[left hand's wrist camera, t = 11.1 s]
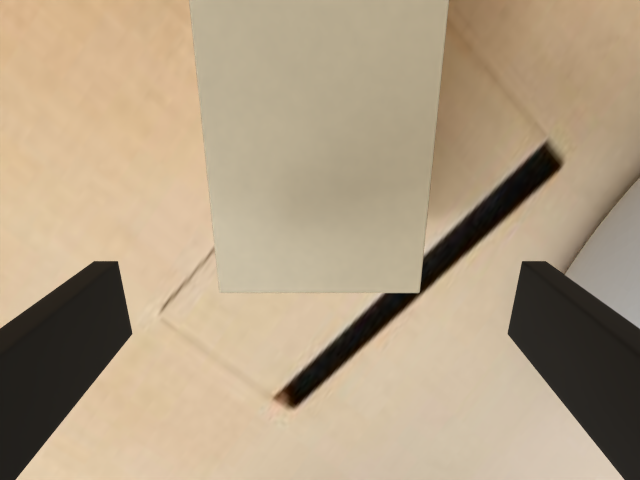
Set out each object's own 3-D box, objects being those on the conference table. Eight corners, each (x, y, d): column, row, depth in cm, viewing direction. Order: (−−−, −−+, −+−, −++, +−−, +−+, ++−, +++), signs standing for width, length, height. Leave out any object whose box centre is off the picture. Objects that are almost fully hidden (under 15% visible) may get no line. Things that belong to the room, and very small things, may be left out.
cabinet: (235, -36, 24) (174, -134, 14) (402, -36, 24) (463, -134, 14) (252, 228, 30) (218, 293, 20) (386, 228, 30) (419, 293, 20)
